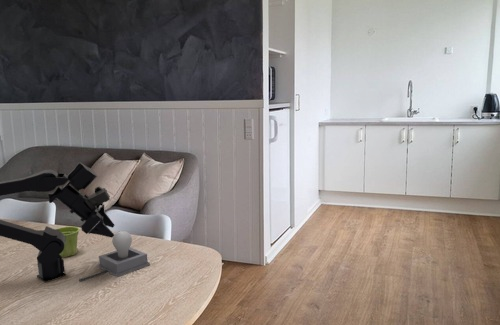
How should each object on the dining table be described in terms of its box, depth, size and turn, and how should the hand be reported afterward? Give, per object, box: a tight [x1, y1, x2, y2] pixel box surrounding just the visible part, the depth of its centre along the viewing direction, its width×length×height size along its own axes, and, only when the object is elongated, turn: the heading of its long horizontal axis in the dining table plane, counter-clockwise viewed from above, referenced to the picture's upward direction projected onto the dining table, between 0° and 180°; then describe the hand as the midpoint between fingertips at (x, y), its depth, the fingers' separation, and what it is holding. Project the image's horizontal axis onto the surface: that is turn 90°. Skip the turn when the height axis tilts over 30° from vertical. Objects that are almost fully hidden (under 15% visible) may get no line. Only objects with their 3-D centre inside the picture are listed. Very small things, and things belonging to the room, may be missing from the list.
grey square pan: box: [78, 246, 151, 283], centre depth 138 cm, size 21×12×4 cm, turn 137°
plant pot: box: [57, 226, 81, 258], centre depth 153 cm, size 9×9×9 cm
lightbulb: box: [111, 230, 133, 262], centre depth 140 cm, size 6×6×11 cm
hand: (113, 231), depth 139 cm, fingers open, 9 cm apart
